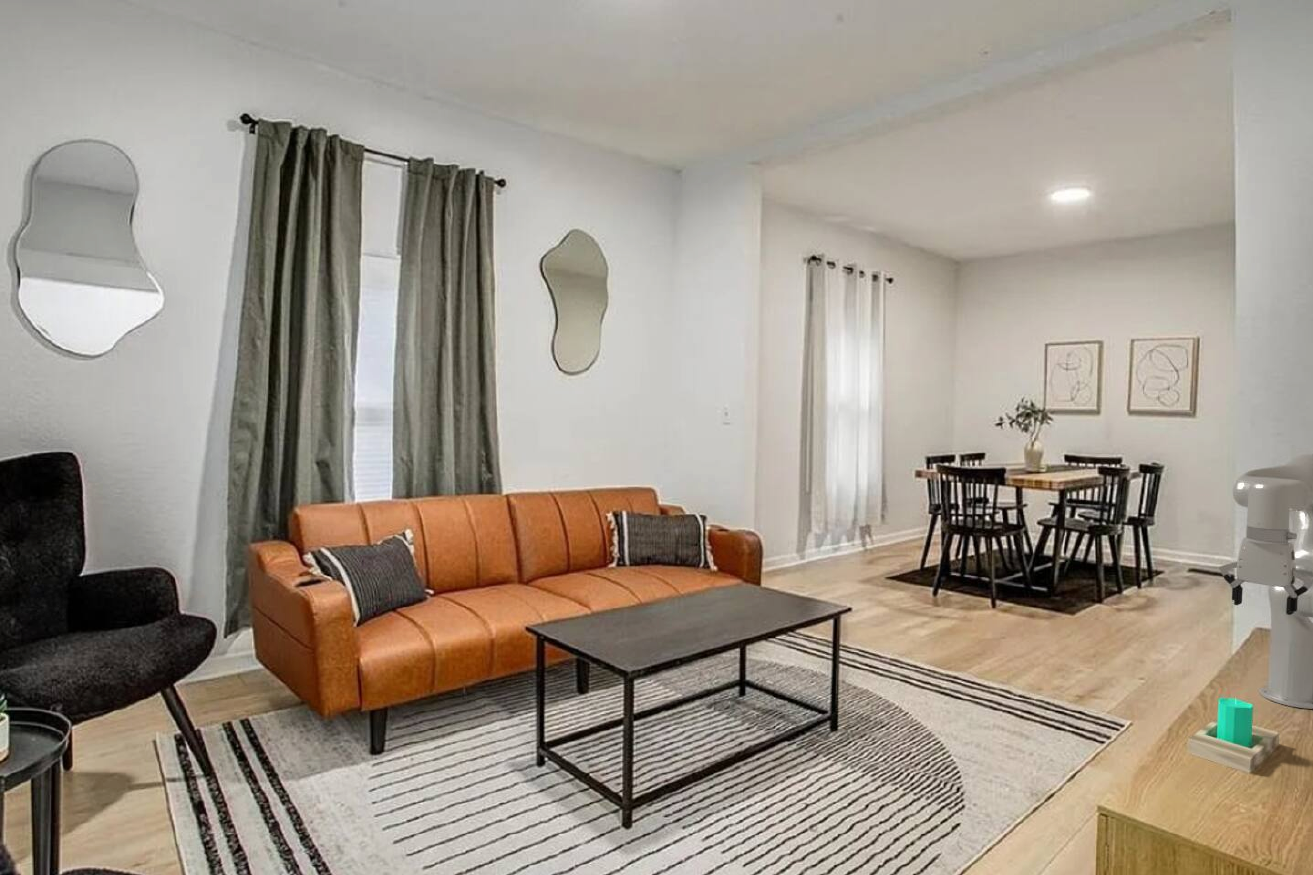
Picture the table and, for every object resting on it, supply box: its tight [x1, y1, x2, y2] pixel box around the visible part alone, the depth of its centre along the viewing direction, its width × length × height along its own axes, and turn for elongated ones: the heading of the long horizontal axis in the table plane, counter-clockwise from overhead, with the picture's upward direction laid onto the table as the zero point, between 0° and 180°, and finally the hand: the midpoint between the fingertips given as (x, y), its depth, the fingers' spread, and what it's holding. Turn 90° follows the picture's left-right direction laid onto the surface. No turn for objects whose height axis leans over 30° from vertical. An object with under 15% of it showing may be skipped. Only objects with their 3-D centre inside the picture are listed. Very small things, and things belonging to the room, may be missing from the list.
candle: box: [1216, 697, 1254, 749], centre depth 165 cm, size 6×6×12 cm
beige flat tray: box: [1186, 716, 1280, 774], centre depth 165 cm, size 20×11×3 cm, turn 127°
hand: (1263, 608), depth 174 cm, fingers open, 9 cm apart
